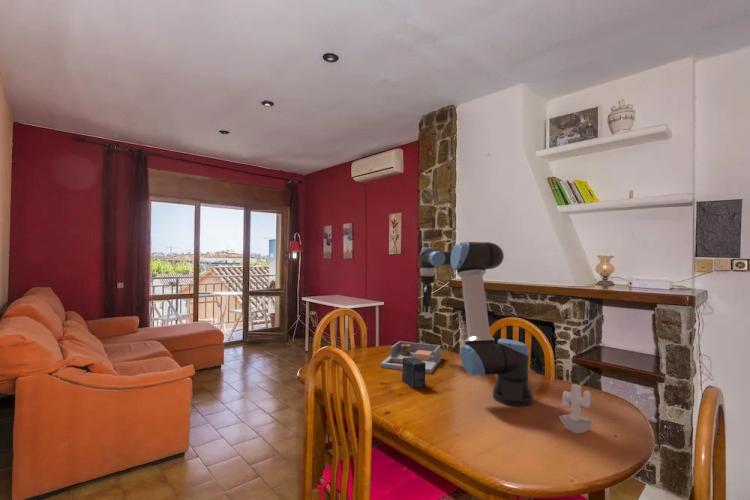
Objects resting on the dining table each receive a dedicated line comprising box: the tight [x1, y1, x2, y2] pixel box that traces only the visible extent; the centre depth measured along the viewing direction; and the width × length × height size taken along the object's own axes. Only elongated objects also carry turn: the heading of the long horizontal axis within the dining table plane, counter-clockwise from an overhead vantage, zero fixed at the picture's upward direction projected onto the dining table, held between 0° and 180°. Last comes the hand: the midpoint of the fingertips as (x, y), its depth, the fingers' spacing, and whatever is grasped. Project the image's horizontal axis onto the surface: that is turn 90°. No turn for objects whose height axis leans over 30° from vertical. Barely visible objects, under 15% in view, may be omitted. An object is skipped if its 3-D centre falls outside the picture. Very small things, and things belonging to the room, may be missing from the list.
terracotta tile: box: [414, 350, 433, 361], centre depth 197 cm, size 8×8×3 cm
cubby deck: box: [380, 340, 443, 374], centre depth 196 cm, size 26×28×7 cm
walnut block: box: [401, 344, 410, 356], centre depth 205 cm, size 5×5×5 cm
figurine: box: [558, 383, 594, 435], centre depth 123 cm, size 7×9×15 cm
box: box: [401, 357, 426, 389], centre depth 165 cm, size 11×7×10 cm, turn 22°
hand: (427, 317), depth 205 cm, fingers closed
